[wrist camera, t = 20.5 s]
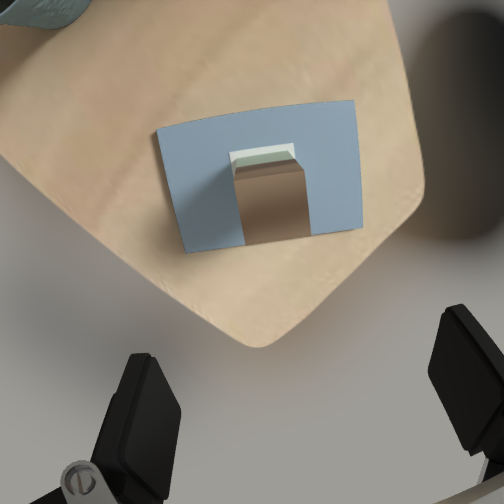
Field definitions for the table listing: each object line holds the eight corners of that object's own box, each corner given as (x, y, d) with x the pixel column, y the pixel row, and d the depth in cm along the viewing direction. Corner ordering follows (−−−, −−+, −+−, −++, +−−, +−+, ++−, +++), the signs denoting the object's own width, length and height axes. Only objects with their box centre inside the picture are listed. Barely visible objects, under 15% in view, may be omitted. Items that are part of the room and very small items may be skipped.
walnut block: (236, 167, 27) (233, 181, 22) (294, 158, 26) (304, 170, 22) (245, 221, 29) (245, 245, 24) (301, 213, 29) (311, 235, 24)
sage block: (237, 158, 31) (235, 167, 27) (287, 150, 31) (294, 158, 26) (246, 204, 33) (245, 222, 29) (293, 197, 33) (301, 213, 29)
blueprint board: (158, 128, 31) (156, 129, 30) (351, 100, 30) (354, 100, 29) (187, 249, 37) (185, 253, 36) (360, 224, 36) (363, 228, 35)
